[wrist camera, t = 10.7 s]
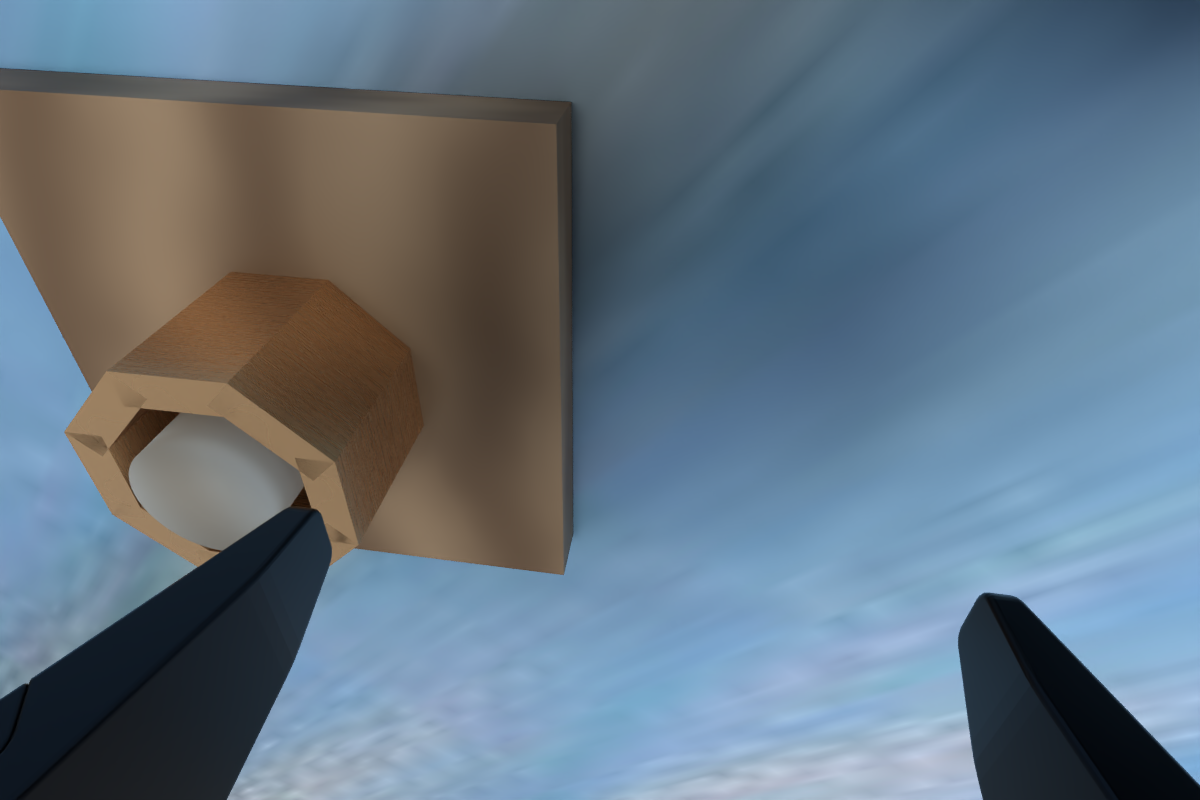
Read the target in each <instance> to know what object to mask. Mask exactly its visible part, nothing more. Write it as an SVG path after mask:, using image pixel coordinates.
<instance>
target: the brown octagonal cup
mask: <svg viewBox="0 0 1200 800" xmlns="http://www.w3.org/2000/svg"><path fill="white" fill-rule="evenodd" d="M180 413H191V414H200V415H209V416H219V417H224V418H225V419H227V420H228V421H230V422H231V423H232V424H234V425H235V426H237V427H238V428H240V429H241V430H242V431H244V432H245V433H247V434H248V435H249V436H251V437H252V438H254V439H255V440H256V441H258V442H259V443H261V444H262V445H263V446H265V447H266V448H268V449H269V450H271V451H272V452H273V453H275V454H276V455H278V456H279V457H280V458H282V459H283V460H285V461H286V462H287V463H289V464H290V465H292V466H293V467H295V468H296V469H297V470H299V472H300V475H301V478H302V481H303V484H304V487H303V489H302V490H301V492H300V493H299V495H298V496H297V498H296V499H295V500H294V502H293V503H292V505H291V506H298V507H306V508H314V509H317V510H318V511H319V512H320V513H321V515H322V517H323V521H324V524H325V527H326V530H327V533H328V536H329V539H330V543H331V546H332V558H331V562H330V565H332V564H333V563H334V562H336V561H337V560H339V559H340V558H341V557H343V556H344V555H345V554H347V553H348V552H350V551H351V550H352V549H354V548H355V547H356V546H358V545H359V543H360V542H361V540H362V538H363V536H364V534H365V532H366V531H367V529H368V527H369V525H370V523H371V521H372V520H373V518H374V516H375V514H376V512H377V510H378V509H379V507H380V505H381V503H382V501H383V499H384V498H385V496H386V494H387V492H388V490H389V488H390V487H391V485H392V483H393V481H394V479H395V477H396V476H397V474H398V472H399V470H400V468H401V466H402V465H403V463H404V461H405V459H406V457H407V455H408V454H409V452H410V450H411V448H412V446H413V444H414V443H415V441H416V439H417V437H418V435H419V433H420V432H421V430H422V428H423V426H424V423H423V417H422V412H421V406H420V400H419V395H418V389H417V383H416V378H415V372H414V366H413V360H412V355H411V349H410V348H409V347H408V346H407V345H406V344H404V343H403V342H402V341H401V340H400V339H398V338H397V337H396V336H395V335H394V334H392V333H391V332H390V331H389V330H388V329H386V328H385V327H384V326H383V325H382V324H381V323H379V322H378V321H377V320H376V319H375V318H373V317H372V316H371V315H370V314H369V313H367V312H366V311H365V310H364V309H363V308H361V307H360V306H359V305H358V304H357V303H356V302H354V301H353V300H352V299H351V298H350V297H348V296H347V295H346V294H345V293H344V292H342V291H341V290H340V289H339V288H338V287H336V286H335V285H334V284H333V283H332V282H331V281H329V280H325V279H313V278H301V277H289V276H277V275H265V274H253V273H241V272H230V273H229V274H227V275H226V276H225V277H224V278H222V279H221V280H220V281H219V282H217V283H216V284H215V285H214V286H212V287H211V288H210V289H209V290H207V291H206V292H205V293H203V294H202V295H201V296H200V297H198V298H197V299H196V300H195V301H193V302H192V303H191V304H190V305H188V306H187V307H186V308H185V309H183V310H182V311H181V312H180V313H178V314H177V315H176V316H175V317H173V318H172V319H171V320H170V321H168V322H167V323H166V324H165V325H163V326H162V327H161V328H160V329H158V330H157V331H156V332H155V333H153V334H152V335H151V336H150V337H148V338H147V339H146V340H145V341H143V342H142V343H141V344H140V345H138V346H137V347H136V348H135V349H133V350H132V351H131V352H130V353H128V354H127V355H126V356H125V357H123V358H122V359H121V360H120V361H118V362H117V363H116V364H115V365H113V366H112V367H111V368H110V369H108V370H107V371H106V372H105V374H104V375H103V377H102V378H101V380H100V381H99V383H98V384H97V385H96V387H95V388H94V390H93V391H92V393H91V394H90V396H89V397H88V398H87V400H86V401H85V403H84V404H83V406H82V407H81V409H80V410H79V411H78V413H77V414H76V416H75V417H74V419H73V420H72V422H71V423H70V424H69V426H68V427H67V429H66V430H65V434H66V436H67V438H68V439H69V441H70V443H71V444H72V446H73V448H74V450H75V451H76V453H77V455H78V456H79V458H80V460H81V462H82V463H83V465H84V467H85V468H86V470H87V472H88V474H89V475H90V477H91V479H92V480H93V482H94V484H95V486H96V487H97V489H98V491H99V492H100V494H101V496H102V498H103V499H104V501H105V503H106V504H107V506H108V508H109V510H110V511H111V513H112V514H113V515H114V516H116V517H117V518H119V519H121V520H122V521H124V522H126V523H127V524H129V525H131V526H132V527H134V528H135V529H137V530H139V531H140V532H142V533H144V534H145V535H147V536H148V537H150V538H152V539H153V540H155V541H157V542H158V543H160V544H162V545H163V546H165V547H166V548H168V549H170V550H171V551H173V552H175V553H176V554H178V555H179V556H181V557H183V558H184V559H186V560H188V561H189V562H191V563H193V564H194V565H196V566H197V567H199V566H200V565H202V564H203V563H205V562H206V561H208V560H209V559H210V558H212V557H213V556H215V555H216V554H218V553H219V552H221V551H222V550H216V549H212V548H208V547H205V546H202V545H199V544H196V543H194V542H191V541H189V540H187V539H185V538H183V537H181V536H179V535H177V534H176V533H174V532H172V531H171V530H169V529H168V528H166V527H165V526H163V525H162V524H161V523H159V522H158V521H157V520H156V519H155V518H154V517H152V516H151V515H150V514H149V513H148V512H147V511H146V509H145V508H144V507H143V506H142V505H141V503H140V502H139V501H138V499H137V498H136V496H135V494H134V492H133V490H132V488H131V485H130V481H129V468H130V465H131V462H132V461H133V459H134V458H135V457H136V456H137V455H138V454H139V453H140V452H141V451H142V450H143V449H144V448H145V447H146V446H147V445H148V444H149V443H150V442H151V441H152V440H153V439H154V438H155V437H156V436H157V435H158V434H159V433H160V432H161V431H162V430H163V429H164V428H165V427H166V426H167V425H168V424H169V423H170V422H172V421H173V420H174V419H175V418H176V417H177V416H178V415H179V414H180ZM291 506H290V507H291Z"/></svg>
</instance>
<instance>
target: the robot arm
mask: <svg viewBox="0 0 1200 800" xmlns="http://www.w3.org/2000/svg"><path fill="white" fill-rule="evenodd" d="M331 558H332V546H331V543H330V539H329V536H328V533H327V530H326V527H325V524H324V521H323V517H322V515H321V513H320V512H319V511H318V510H317V509H314V508H306V507H298V506H291V507H288V508H285V509H284V510H282V511H281V512H279V513H278V514H276V515H275V516H273V517H272V518H270V519H269V520H267V521H266V522H264V523H263V524H261V525H260V526H258V527H257V528H255V529H254V530H252V531H251V532H249V533H248V534H246V535H245V536H243V537H242V538H240V539H239V540H237V541H236V542H234V543H233V544H231V545H230V546H228V547H227V548H225V549H224V550H222V551H221V552H219V553H218V554H216V555H215V556H213V557H212V558H210V559H209V560H208V561H206V562H205V563H203V564H202V565H200V566H199V567H197V568H196V569H194V570H193V571H191V572H190V573H188V574H187V575H185V576H184V577H182V578H181V579H179V580H178V581H176V582H175V583H173V584H172V585H170V586H169V587H167V588H166V589H164V590H163V591H161V592H160V593H158V594H157V595H155V596H154V597H152V598H151V599H149V600H148V601H146V602H145V603H143V604H142V605H140V606H139V607H137V608H136V609H134V610H133V611H132V612H130V613H129V614H127V615H126V616H124V617H123V618H121V619H120V620H118V621H117V622H115V623H114V624H112V625H111V626H109V627H108V628H106V629H105V630H103V631H102V632H100V633H99V634H97V635H96V636H94V637H93V638H91V639H90V640H88V641H87V642H85V643H84V644H82V645H81V646H79V647H78V648H76V649H75V650H73V651H72V652H70V653H69V654H67V655H66V656H64V657H63V658H61V659H60V660H59V661H57V662H56V663H54V664H53V665H51V666H50V667H48V668H47V669H45V670H44V671H42V672H41V673H39V674H38V675H36V676H35V677H33V678H32V679H31V680H30V682H29V684H22V685H21V686H19V687H18V688H16V689H15V690H13V691H12V692H10V693H9V694H7V695H6V696H5V697H3V698H2V699H0V800H227V798H228V796H229V794H230V792H231V790H232V788H233V786H234V784H235V782H236V780H237V778H238V776H239V774H240V772H241V770H242V768H243V765H244V763H245V761H246V759H247V757H248V755H249V753H250V751H251V749H252V747H253V745H254V743H255V741H256V739H257V737H258V735H259V733H260V731H261V729H262V727H263V725H264V723H265V721H266V719H267V717H268V714H269V712H270V710H271V708H272V706H273V704H274V702H275V700H276V698H277V696H278V694H279V692H280V690H281V688H282V686H283V684H284V682H285V680H286V678H287V676H288V673H289V671H290V669H291V667H292V665H293V663H294V660H295V658H296V655H297V653H298V650H299V648H300V645H301V642H302V640H303V637H304V634H305V631H306V629H307V626H308V623H309V620H310V618H311V615H312V612H313V609H314V607H315V604H316V601H317V598H318V596H319V593H320V590H321V588H322V585H323V582H324V579H325V577H326V574H327V571H328V568H329V566H330V562H331ZM958 649H959V656H960V664H961V671H962V679H963V686H964V693H965V701H966V708H967V716H968V723H969V731H970V738H971V745H972V751H973V758H974V763H975V768H976V772H977V777H978V781H979V785H980V789H981V793H982V797H983V800H1200V785H1199V784H1198V783H1197V782H1196V781H1195V780H1194V779H1193V778H1192V777H1191V776H1190V774H1189V773H1188V772H1187V771H1186V770H1185V769H1184V768H1183V767H1182V766H1181V765H1180V764H1179V763H1178V762H1177V761H1176V760H1175V759H1174V758H1173V757H1172V756H1171V755H1170V754H1169V753H1168V752H1167V751H1166V750H1165V749H1164V748H1163V746H1162V745H1161V744H1160V743H1159V742H1158V741H1157V740H1156V739H1155V738H1154V737H1153V736H1152V735H1151V734H1150V733H1149V732H1148V731H1147V730H1146V729H1145V728H1144V727H1143V726H1142V725H1141V724H1140V723H1139V722H1138V721H1137V720H1136V718H1135V717H1134V716H1133V715H1132V714H1131V713H1130V712H1129V711H1128V710H1127V709H1126V708H1125V707H1124V706H1123V705H1122V704H1121V703H1120V702H1119V701H1118V700H1117V699H1116V698H1115V697H1114V696H1113V695H1112V694H1111V693H1110V692H1109V690H1108V689H1107V688H1106V687H1105V686H1104V685H1103V684H1102V683H1101V682H1100V681H1099V680H1098V679H1097V678H1096V677H1095V676H1094V675H1093V674H1092V673H1091V672H1090V671H1089V670H1088V669H1087V668H1086V667H1085V666H1084V665H1083V664H1082V663H1081V661H1080V660H1079V659H1078V658H1077V657H1076V656H1075V655H1074V654H1073V653H1072V652H1071V651H1070V650H1069V649H1068V648H1067V647H1066V646H1065V645H1064V644H1063V643H1062V642H1061V641H1060V640H1059V639H1058V638H1057V637H1056V636H1055V635H1054V633H1053V632H1052V631H1051V630H1050V629H1049V628H1048V627H1047V626H1046V625H1045V624H1044V623H1043V622H1042V621H1041V620H1040V619H1039V618H1038V617H1037V616H1036V615H1035V614H1034V613H1033V612H1032V611H1031V610H1030V609H1029V608H1028V607H1027V605H1026V604H1025V603H1024V602H1022V601H1021V600H1020V599H1018V598H1017V597H1015V596H1011V595H1003V594H995V593H983V594H982V595H980V596H979V597H978V598H977V600H976V602H975V603H974V605H973V607H972V609H971V611H970V612H969V614H968V616H967V618H966V619H965V621H964V623H963V625H962V627H961V629H960V632H959V637H958Z"/></svg>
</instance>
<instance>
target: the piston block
mask: <svg viewBox="0 0 1200 800" xmlns="http://www.w3.org/2000/svg"><path fill="white" fill-rule="evenodd" d="M0 217H1V219H2V221H3V223H4V225H5V227H6V228H7V230H8V232H9V234H10V236H11V238H12V240H13V242H14V244H15V246H16V248H17V249H18V251H19V253H20V255H21V257H22V259H23V261H24V263H25V265H26V267H27V269H28V270H29V272H30V274H31V276H32V278H33V280H34V282H35V284H36V286H37V288H38V290H39V291H40V293H41V295H42V297H43V299H44V301H45V303H46V305H47V307H48V309H49V311H50V312H51V314H52V316H53V318H54V320H55V322H56V324H57V326H58V328H59V330H60V332H61V334H62V335H63V337H64V339H65V341H66V343H67V345H68V347H69V349H70V351H71V353H72V355H73V356H74V358H75V360H76V362H77V364H78V366H79V368H80V370H81V372H82V374H83V376H84V377H85V379H86V381H87V383H88V385H89V387H90V389H91V391H93V390H94V388H95V387H96V385H97V384H98V383H99V381H100V380H101V378H102V377H103V375H104V374H105V372H106V371H107V370H108V369H110V368H111V367H112V366H113V365H115V364H116V363H117V362H118V361H120V360H121V359H122V358H123V357H125V356H126V355H127V354H128V353H130V352H131V351H132V350H133V349H135V348H136V347H137V346H138V345H140V344H141V343H142V342H143V341H145V340H146V339H147V338H148V337H150V336H151V335H152V334H153V333H155V332H156V331H157V330H158V329H160V328H161V327H162V326H163V325H165V324H166V323H167V322H168V321H170V320H171V319H172V318H173V317H175V316H176V315H177V314H178V313H180V312H181V311H182V310H183V309H185V308H186V307H187V306H188V305H190V304H191V303H192V302H193V301H195V300H196V299H197V298H198V297H200V296H201V295H202V294H203V293H205V292H206V291H207V290H209V289H210V288H211V287H212V286H214V285H215V284H216V283H217V282H219V281H220V280H221V279H222V278H224V277H225V276H226V275H227V274H229V273H230V272H241V273H253V274H265V275H277V276H289V277H301V278H313V279H325V280H329V281H331V282H332V283H333V284H334V285H335V286H336V287H338V288H339V289H340V290H341V291H342V292H344V293H345V294H346V295H347V296H348V297H350V298H351V299H352V300H353V301H354V302H356V303H357V304H358V305H359V306H360V307H361V308H363V309H364V310H365V311H366V312H367V313H369V314H370V315H371V316H372V317H373V318H375V319H376V320H377V321H378V322H379V323H381V324H382V325H383V326H384V327H385V328H386V329H388V330H389V331H390V332H391V333H392V334H394V335H395V336H396V337H397V338H398V339H400V340H401V341H402V342H403V343H404V344H406V345H407V346H408V347H409V348H410V349H411V355H412V360H413V366H414V372H415V378H416V383H417V389H418V395H419V400H420V406H421V412H422V417H423V423H424V426H423V428H422V430H421V432H420V433H419V435H418V437H417V439H416V441H415V443H414V444H413V446H412V448H411V450H410V452H409V454H408V455H407V457H406V459H405V461H404V463H403V465H402V466H401V468H400V470H399V472H398V474H397V476H396V477H395V479H394V481H393V483H392V485H391V487H390V488H389V490H388V492H387V494H386V496H385V498H384V499H383V501H382V503H381V505H380V507H379V509H378V510H377V512H376V514H375V516H374V518H373V520H372V521H371V523H370V525H369V527H368V529H367V531H366V532H365V534H364V536H363V538H362V540H361V542H360V543H359V545H358V546H356V547H355V548H357V549H365V550H372V551H380V552H388V553H396V554H404V555H412V556H419V557H427V558H435V559H443V560H451V561H458V562H466V563H474V564H482V565H490V566H498V567H505V568H513V569H521V570H529V571H537V572H545V573H552V574H560V575H564V572H565V567H566V563H567V559H568V554H569V550H570V546H571V541H572V537H573V393H572V141H571V102H562V101H545V100H528V99H511V98H494V97H477V96H460V95H443V94H426V93H409V92H392V91H376V90H359V89H342V88H325V87H308V86H291V85H274V84H257V83H240V82H223V81H206V80H189V79H172V78H155V77H138V76H121V75H104V74H87V73H70V72H54V71H37V70H20V69H3V68H0ZM129 481H130V485H131V488H132V490H133V492H134V494H135V496H136V498H137V499H138V501H139V502H140V503H141V505H142V506H143V507H144V508H145V509H146V511H147V512H148V513H149V514H150V515H151V516H152V517H154V518H155V519H156V520H157V521H158V522H159V523H161V524H162V525H163V526H165V527H166V528H168V529H169V530H171V531H172V532H174V533H176V534H177V535H179V536H181V537H183V538H185V539H187V540H189V541H191V542H194V543H196V544H199V545H202V546H205V547H208V548H212V549H216V550H224V549H225V548H227V547H228V546H230V545H231V544H233V543H234V542H236V541H237V540H239V539H240V538H242V537H243V536H245V535H246V534H248V533H249V532H251V531H252V530H254V529H255V528H257V527H258V526H260V525H261V524H263V523H264V522H266V521H267V520H269V519H270V518H272V517H273V516H275V515H276V514H278V513H279V512H281V511H282V510H284V509H285V508H288V507H290V506H291V505H292V503H293V502H294V500H295V499H296V498H297V496H298V495H299V493H300V492H301V490H302V489H303V487H304V484H303V481H302V478H301V475H300V472H299V470H297V469H296V468H295V467H293V466H292V465H290V464H289V463H287V462H286V461H285V460H283V459H282V458H280V457H279V456H278V455H276V454H275V453H273V452H272V451H271V450H269V449H268V448H266V447H265V446H263V445H262V444H261V443H259V442H258V441H256V440H255V439H254V438H252V437H251V436H249V435H248V434H247V433H245V432H244V431H242V430H241V429H240V428H238V427H237V426H235V425H234V424H232V423H231V422H230V421H228V420H227V419H225V418H224V417H219V416H209V415H200V414H191V413H180V414H179V415H178V416H177V417H176V418H175V419H174V420H173V421H172V422H170V423H169V424H168V425H167V426H166V427H165V428H164V429H163V430H162V431H161V432H160V433H159V434H158V435H157V436H156V437H155V438H154V439H153V440H152V441H151V442H150V443H149V444H148V445H147V446H146V447H145V448H144V449H143V450H142V451H141V452H140V453H139V454H138V455H137V456H136V457H135V458H134V459H133V461H132V462H131V465H130V468H129Z"/></svg>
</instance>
